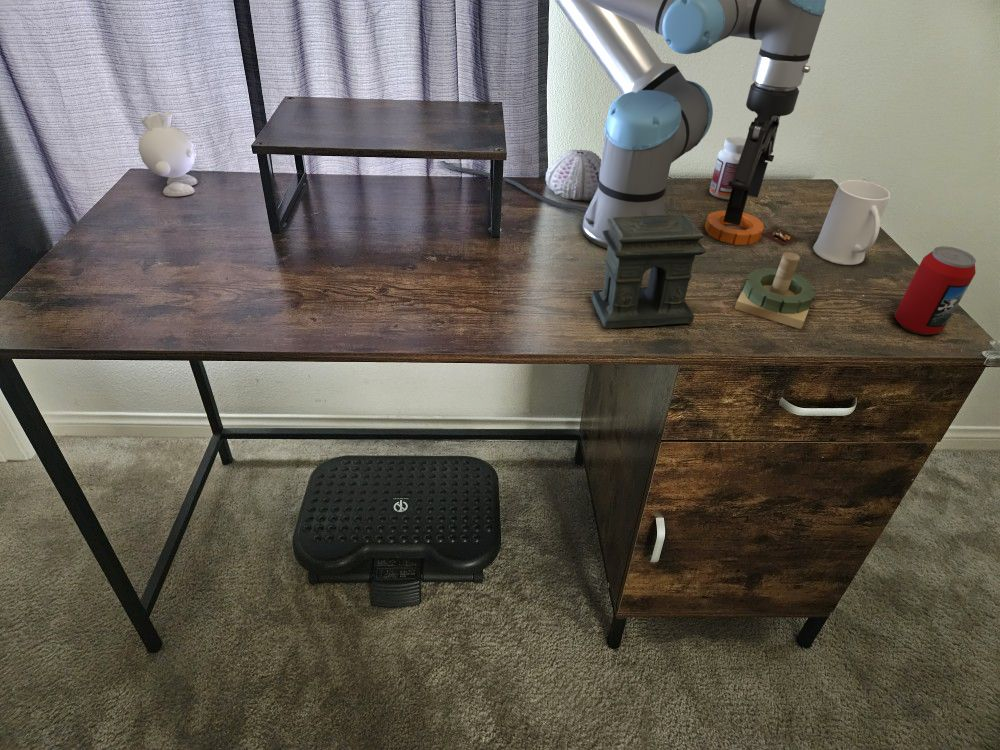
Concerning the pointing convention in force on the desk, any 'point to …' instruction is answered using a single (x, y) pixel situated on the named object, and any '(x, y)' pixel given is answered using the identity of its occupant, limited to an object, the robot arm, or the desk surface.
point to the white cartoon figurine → (168, 153)
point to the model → (634, 252)
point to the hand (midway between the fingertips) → (741, 208)
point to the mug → (852, 222)
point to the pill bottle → (726, 167)
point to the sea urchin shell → (575, 174)
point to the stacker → (778, 293)
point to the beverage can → (936, 290)
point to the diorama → (780, 237)
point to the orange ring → (731, 235)
